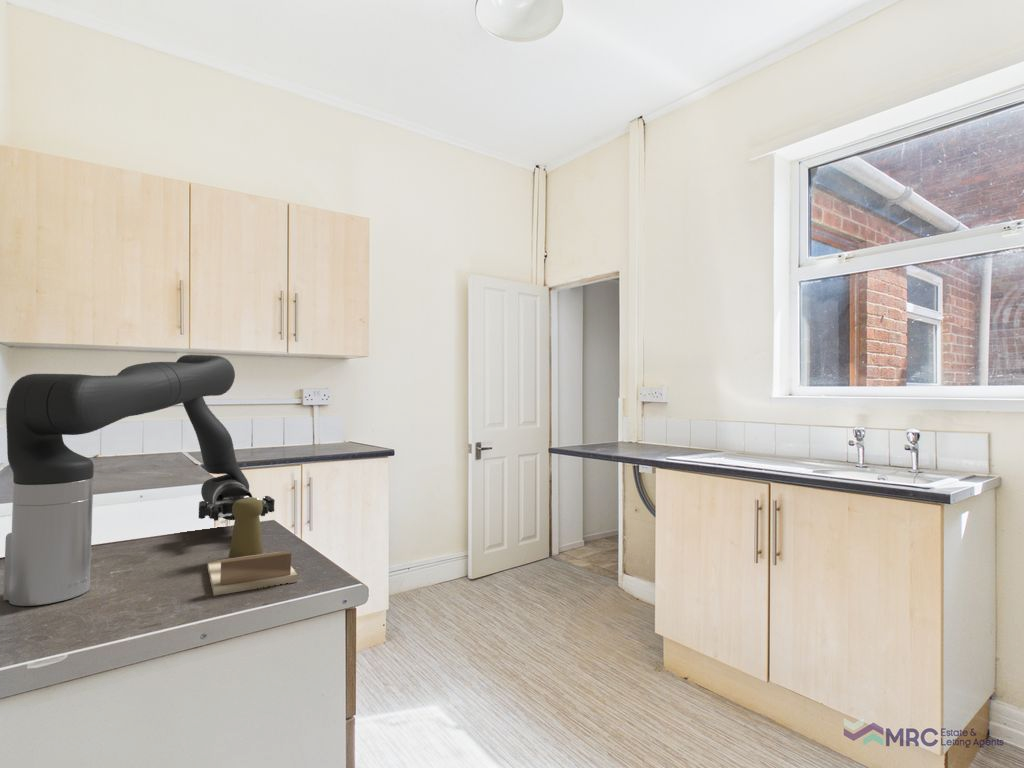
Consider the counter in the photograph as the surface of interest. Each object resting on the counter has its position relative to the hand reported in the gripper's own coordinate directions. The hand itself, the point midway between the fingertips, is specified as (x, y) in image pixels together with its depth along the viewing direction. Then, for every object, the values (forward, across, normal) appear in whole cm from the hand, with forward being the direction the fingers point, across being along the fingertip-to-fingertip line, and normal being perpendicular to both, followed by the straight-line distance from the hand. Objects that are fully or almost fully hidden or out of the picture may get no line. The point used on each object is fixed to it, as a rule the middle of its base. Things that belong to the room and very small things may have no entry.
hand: (240, 513), depth 109 cm
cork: (+10, 0, +7) cm, 12 cm away
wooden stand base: (+20, 0, +6) cm, 21 cm away
